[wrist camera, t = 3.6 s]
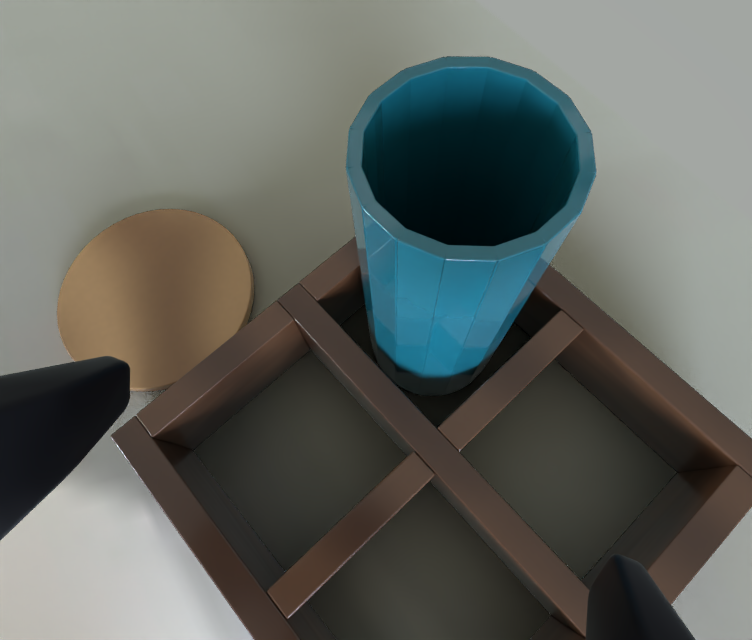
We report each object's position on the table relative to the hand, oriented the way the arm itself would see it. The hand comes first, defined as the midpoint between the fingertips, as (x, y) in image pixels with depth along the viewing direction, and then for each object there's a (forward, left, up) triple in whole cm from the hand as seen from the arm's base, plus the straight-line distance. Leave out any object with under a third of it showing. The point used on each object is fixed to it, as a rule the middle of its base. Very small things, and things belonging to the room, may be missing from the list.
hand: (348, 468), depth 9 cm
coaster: (-2, +13, -13) cm, 19 cm away
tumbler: (+6, +3, -13) cm, 15 cm away
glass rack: (+3, -1, -13) cm, 13 cm away
